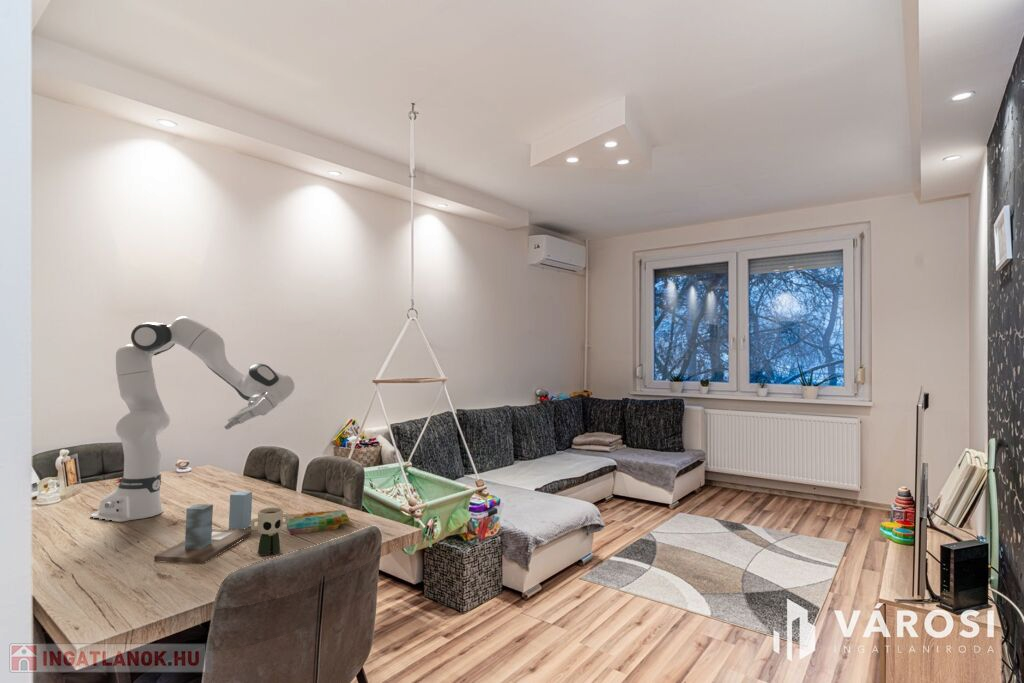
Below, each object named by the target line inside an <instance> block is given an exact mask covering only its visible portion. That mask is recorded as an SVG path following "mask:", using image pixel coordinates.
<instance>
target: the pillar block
mask: <svg viewBox="0 0 1024 683" xmlns="http://www.w3.org/2000/svg"><path fill="white" fill-rule="evenodd" d="M252 504H253V491H247V490H246V491H245V490H237V491H235V492H234V493H233V492H232V493H230V495H229V515H228V517H229V518H228V530H229V529H244V528H246V527H247V528H249V527H250V526H249V525H251V520H252V507H253V506H252ZM248 526H249V527H248ZM247 528H246V529H247ZM244 530H245V529H244Z"/></svg>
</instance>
